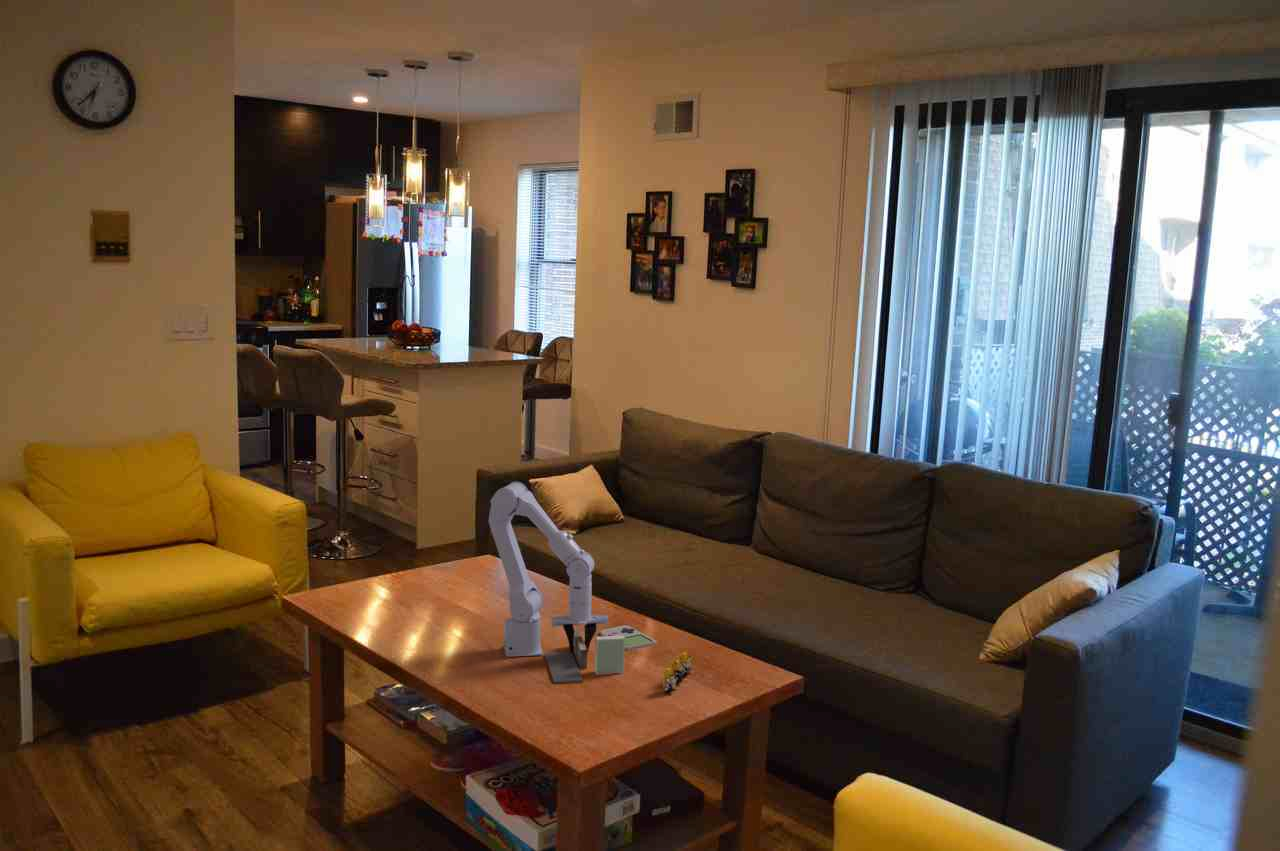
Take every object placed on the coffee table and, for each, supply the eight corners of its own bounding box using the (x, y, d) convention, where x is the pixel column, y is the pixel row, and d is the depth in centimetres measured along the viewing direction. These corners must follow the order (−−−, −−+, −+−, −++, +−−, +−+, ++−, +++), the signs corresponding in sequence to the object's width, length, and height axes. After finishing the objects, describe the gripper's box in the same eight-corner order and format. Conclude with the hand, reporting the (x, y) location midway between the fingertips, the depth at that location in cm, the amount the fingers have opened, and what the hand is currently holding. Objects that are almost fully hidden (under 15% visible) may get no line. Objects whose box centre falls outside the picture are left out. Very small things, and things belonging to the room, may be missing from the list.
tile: (596, 674, 257) (597, 639, 256) (594, 671, 259) (595, 636, 258) (623, 673, 258) (625, 638, 257) (622, 670, 260) (623, 635, 259)
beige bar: (580, 669, 260) (580, 649, 259) (571, 646, 276) (571, 628, 275) (586, 668, 261) (587, 649, 260) (577, 646, 276) (577, 628, 275)
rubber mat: (553, 683, 250) (553, 681, 250) (544, 655, 269) (544, 652, 269) (582, 682, 252) (582, 679, 252) (571, 653, 270) (571, 651, 270)
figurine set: (657, 694, 246) (658, 668, 245) (680, 671, 261) (681, 646, 260) (671, 697, 245) (672, 670, 244) (693, 673, 260) (694, 648, 259)
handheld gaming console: (627, 623, 292) (657, 640, 279) (627, 629, 292) (657, 646, 280) (596, 629, 286) (626, 646, 274) (596, 635, 286) (626, 652, 274)
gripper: (553, 606, 261) (552, 658, 263) (610, 604, 264) (609, 656, 266) (550, 598, 267) (549, 648, 269) (606, 596, 270) (604, 646, 272)
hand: (578, 651), depth 268 cm, fingers open, 3 cm apart
